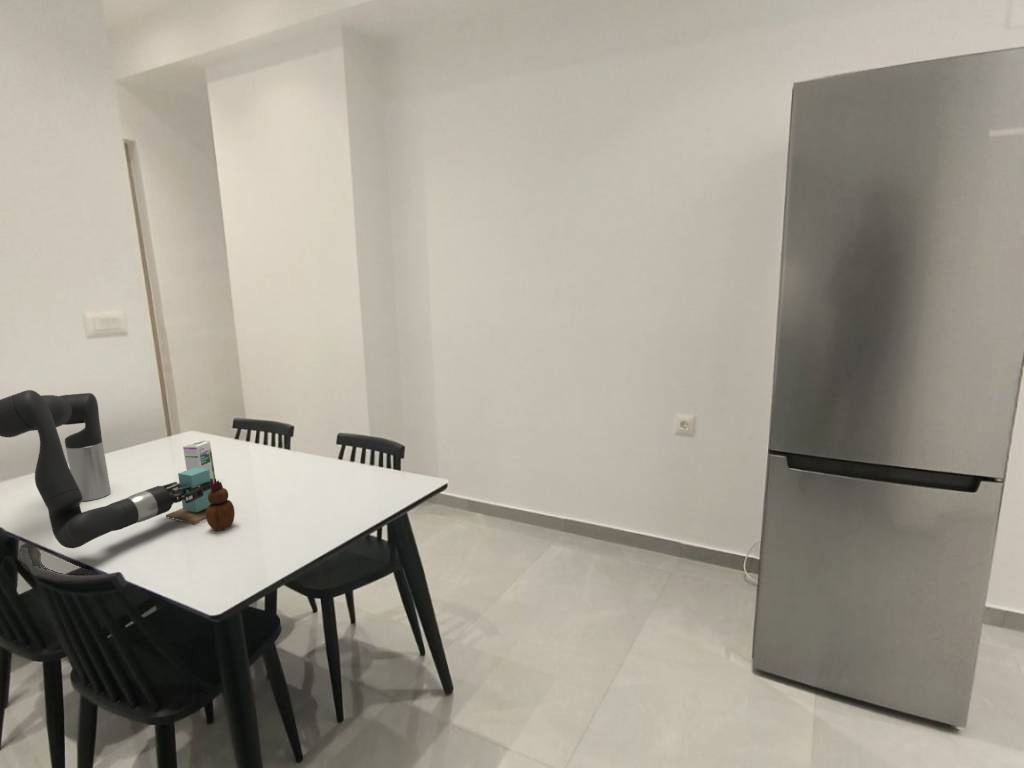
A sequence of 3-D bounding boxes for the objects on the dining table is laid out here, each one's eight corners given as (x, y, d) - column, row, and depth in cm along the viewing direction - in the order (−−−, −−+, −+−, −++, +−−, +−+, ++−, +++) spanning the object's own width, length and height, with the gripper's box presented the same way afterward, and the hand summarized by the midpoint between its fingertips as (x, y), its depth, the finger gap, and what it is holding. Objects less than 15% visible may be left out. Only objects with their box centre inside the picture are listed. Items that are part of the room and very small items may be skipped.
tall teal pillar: (196, 512, 160) (191, 475, 158) (183, 509, 162) (178, 473, 160) (213, 504, 165) (209, 469, 163) (200, 502, 167) (195, 467, 165)
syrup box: (203, 488, 183) (198, 445, 180) (188, 487, 184) (182, 445, 181) (216, 482, 188) (210, 440, 186) (201, 481, 190) (195, 440, 187)
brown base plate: (194, 524, 156) (191, 497, 155) (166, 517, 161) (162, 492, 159) (231, 507, 167) (228, 482, 165) (203, 501, 172) (200, 477, 170)
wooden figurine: (216, 535, 149) (209, 482, 146) (204, 530, 152) (197, 478, 149) (240, 525, 154) (233, 474, 152) (228, 521, 157) (221, 470, 155)
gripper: (162, 495, 146) (219, 473, 161) (127, 487, 152) (185, 468, 167) (166, 521, 147) (222, 498, 162) (131, 513, 153) (188, 491, 168)
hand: (203, 483), depth 164 cm, fingers closed on tall teal pillar, 5 cm apart
